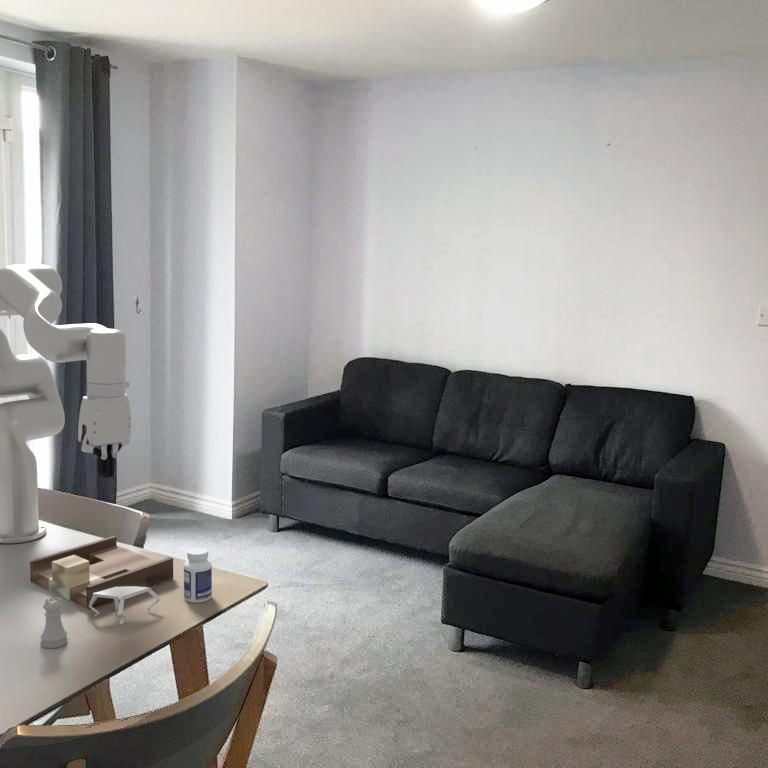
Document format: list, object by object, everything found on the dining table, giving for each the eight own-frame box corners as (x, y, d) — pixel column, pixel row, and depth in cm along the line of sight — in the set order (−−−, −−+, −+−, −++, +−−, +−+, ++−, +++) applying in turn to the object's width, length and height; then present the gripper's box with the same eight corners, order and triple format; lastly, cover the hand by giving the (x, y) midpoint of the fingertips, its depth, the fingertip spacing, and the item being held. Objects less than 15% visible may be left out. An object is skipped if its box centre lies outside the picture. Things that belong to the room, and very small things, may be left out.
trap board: (30, 581, 175) (30, 560, 174) (113, 555, 191) (113, 535, 190) (89, 609, 163) (89, 587, 162) (173, 578, 179) (173, 558, 178)
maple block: (52, 581, 170) (51, 561, 169) (74, 573, 174) (74, 554, 173) (67, 587, 167) (66, 568, 166) (89, 580, 171) (89, 560, 170)
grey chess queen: (40, 651, 147) (39, 607, 145) (39, 639, 151) (38, 596, 149) (68, 647, 148) (67, 603, 147) (66, 636, 153) (65, 593, 151)
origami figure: (101, 632, 155) (101, 606, 154) (87, 614, 161) (87, 589, 161) (166, 617, 162) (165, 592, 161) (149, 601, 168) (149, 577, 168)
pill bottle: (215, 593, 173) (215, 547, 171) (207, 604, 167) (207, 556, 166) (189, 591, 173) (188, 545, 172) (180, 602, 168) (179, 554, 166)
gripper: (126, 382, 184) (125, 465, 187) (62, 390, 172) (63, 478, 176) (147, 388, 179) (146, 473, 183) (84, 397, 168) (84, 487, 171)
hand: (105, 475), depth 179 cm, fingers closed
